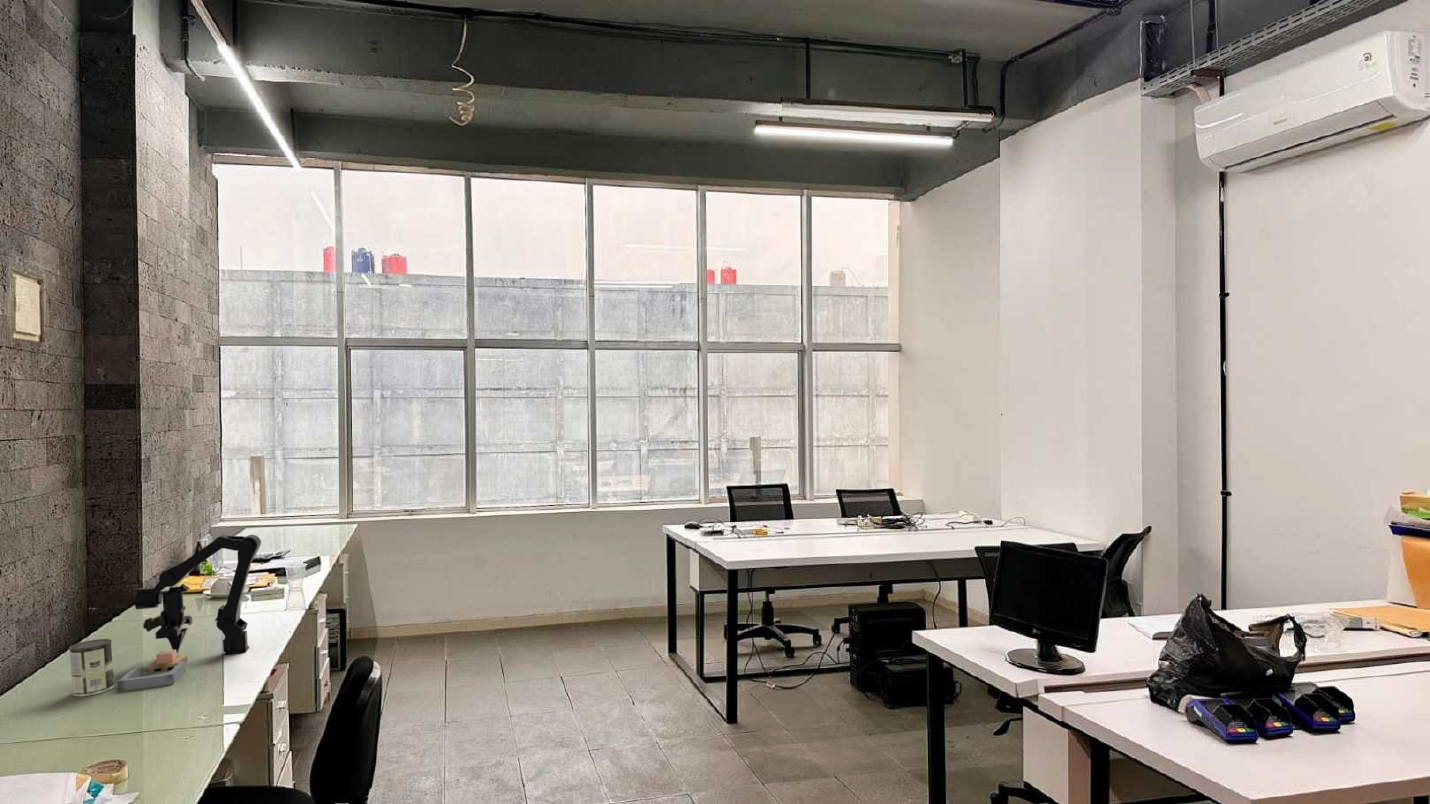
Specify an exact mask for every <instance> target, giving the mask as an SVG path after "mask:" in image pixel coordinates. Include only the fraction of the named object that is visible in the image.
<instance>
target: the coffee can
mask: <svg viewBox="0 0 1430 804" xmlns="http://www.w3.org/2000/svg"><path fill="white" fill-rule="evenodd" d="M68 651H69V656H70V657H69V659H70V660H69V662H70V671H71V685H72V686H71V688H72V696H74V697H88V696H93V695H98V694H102V693H106V692H107V691H110V690H113V689H114V687H115V682H114V670H113V669H114V667H113V654H112V639H110V638H97V639H92V640H87V641H81V642H78V643H75V644H73V645H70V646H68Z"/></svg>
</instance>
